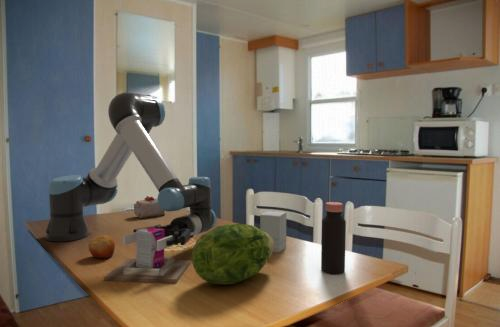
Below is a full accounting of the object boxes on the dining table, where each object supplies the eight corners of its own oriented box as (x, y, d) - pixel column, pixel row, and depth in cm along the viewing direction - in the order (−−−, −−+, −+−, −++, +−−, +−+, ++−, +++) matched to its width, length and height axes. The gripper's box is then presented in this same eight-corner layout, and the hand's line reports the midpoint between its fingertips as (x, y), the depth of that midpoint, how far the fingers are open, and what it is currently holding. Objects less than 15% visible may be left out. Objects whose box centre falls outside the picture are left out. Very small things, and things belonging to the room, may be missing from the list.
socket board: (104, 280, 107) (104, 271, 107) (127, 261, 123) (127, 253, 123) (176, 283, 105) (176, 273, 105) (190, 263, 121) (190, 255, 121)
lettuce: (288, 273, 113) (289, 220, 112) (220, 300, 94) (220, 237, 93) (251, 261, 124) (251, 213, 123) (182, 284, 104) (182, 227, 103)
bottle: (340, 276, 111) (341, 206, 110) (317, 272, 115) (318, 203, 113) (347, 269, 117) (349, 202, 115) (326, 265, 120) (327, 200, 119)
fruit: (124, 248, 132) (115, 231, 128) (111, 267, 126) (101, 249, 121) (104, 246, 135) (95, 229, 130) (90, 264, 128) (80, 247, 124)
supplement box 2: (286, 247, 140) (287, 212, 139) (279, 253, 133) (279, 216, 132) (267, 244, 143) (267, 210, 142) (259, 250, 136) (259, 214, 135)
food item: (139, 219, 185) (139, 198, 184) (132, 216, 191) (132, 196, 190) (166, 216, 193) (165, 196, 192) (159, 213, 199) (158, 194, 199)
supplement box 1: (150, 272, 110) (150, 232, 109) (135, 269, 113) (135, 229, 112) (165, 267, 115) (164, 228, 114) (150, 263, 118) (149, 226, 117)
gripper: (216, 242, 125) (175, 262, 105) (156, 234, 135) (108, 251, 115) (216, 219, 125) (175, 234, 105) (156, 212, 134) (108, 225, 115)
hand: (140, 243), depth 110 cm, fingers open, 11 cm apart
